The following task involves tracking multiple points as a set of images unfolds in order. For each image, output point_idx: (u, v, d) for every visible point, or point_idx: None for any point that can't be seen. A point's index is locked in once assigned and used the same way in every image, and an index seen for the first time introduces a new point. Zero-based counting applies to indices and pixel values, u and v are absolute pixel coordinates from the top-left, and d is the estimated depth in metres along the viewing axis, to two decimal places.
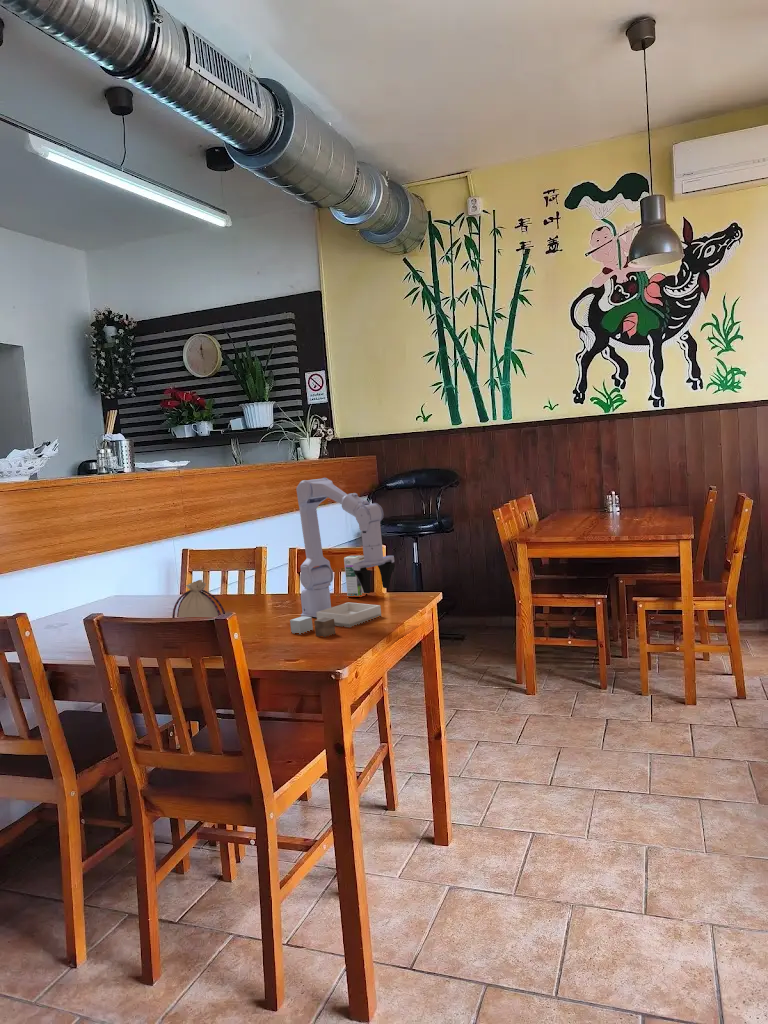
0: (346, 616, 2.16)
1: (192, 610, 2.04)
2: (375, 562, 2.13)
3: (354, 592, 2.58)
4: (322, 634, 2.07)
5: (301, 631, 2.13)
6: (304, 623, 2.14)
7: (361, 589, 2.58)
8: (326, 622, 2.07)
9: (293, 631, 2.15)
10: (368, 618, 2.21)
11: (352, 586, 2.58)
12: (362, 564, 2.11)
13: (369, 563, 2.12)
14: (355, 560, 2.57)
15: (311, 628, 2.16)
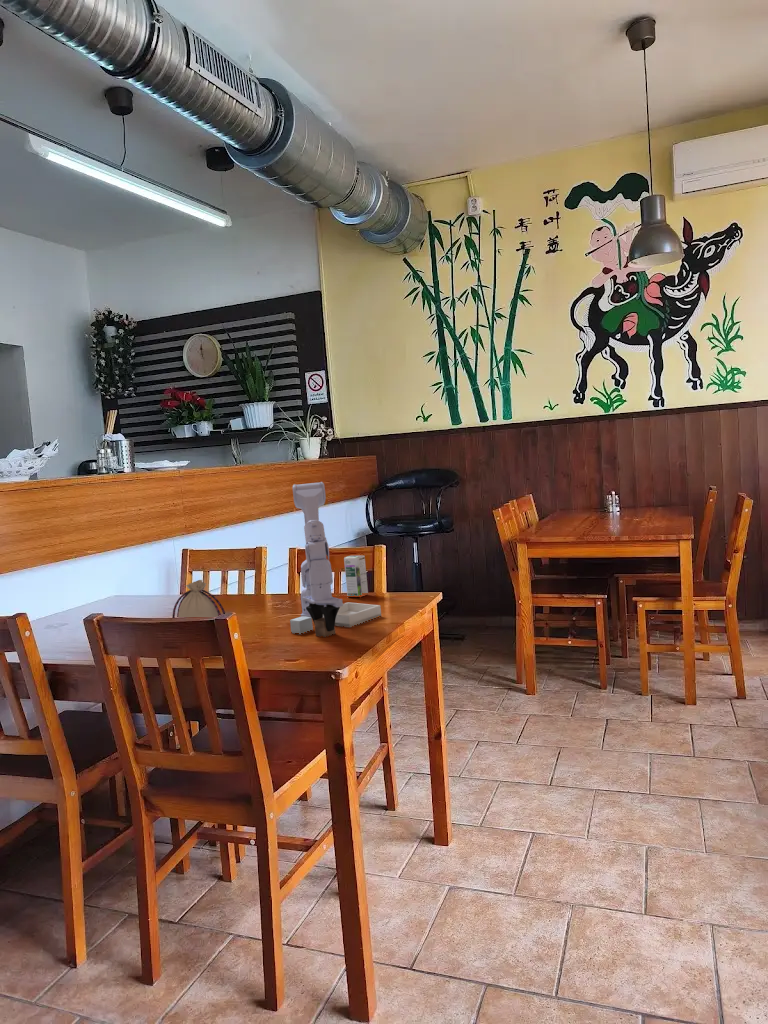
0: (346, 616, 2.16)
1: (192, 610, 2.04)
2: (311, 601, 2.08)
3: (354, 592, 2.58)
4: (322, 634, 2.07)
5: (301, 631, 2.13)
6: (304, 623, 2.14)
7: (361, 589, 2.58)
8: None
9: (293, 631, 2.15)
10: (368, 618, 2.21)
11: (352, 586, 2.58)
12: (305, 599, 2.11)
13: (308, 600, 2.09)
14: (355, 560, 2.57)
15: (311, 628, 2.16)
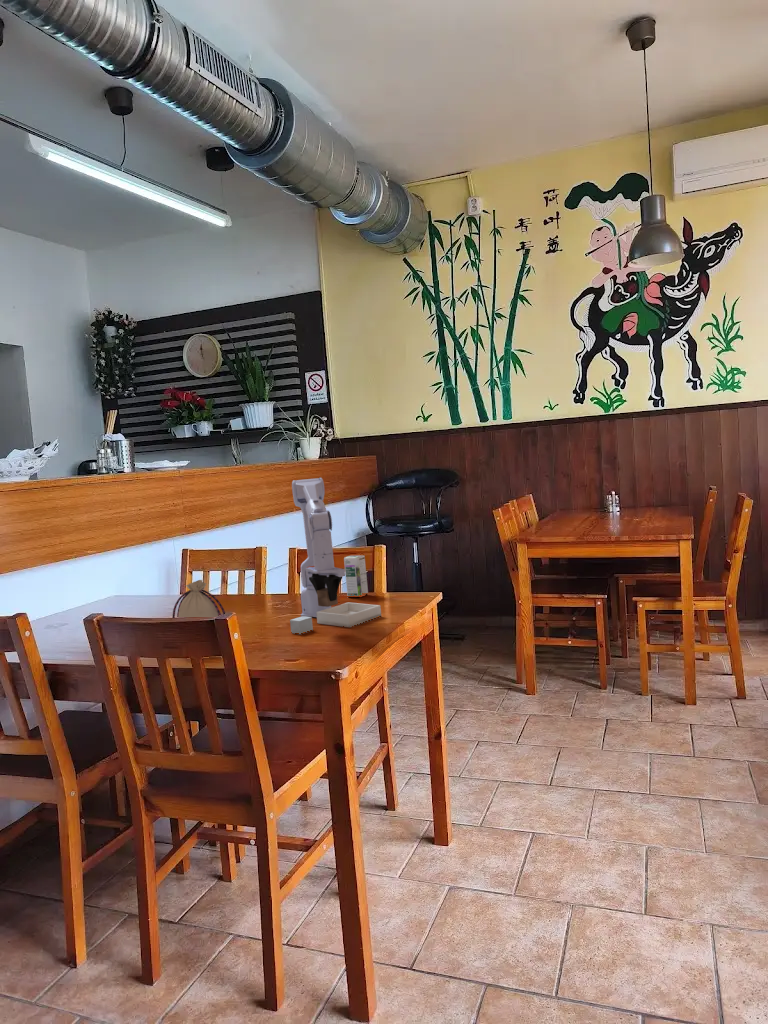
0: (346, 616, 2.16)
1: (192, 610, 2.04)
2: (314, 571, 2.10)
3: (354, 592, 2.58)
4: (325, 603, 2.10)
5: (301, 631, 2.13)
6: (304, 623, 2.14)
7: (361, 589, 2.58)
8: None
9: (293, 631, 2.15)
10: (368, 618, 2.21)
11: (352, 586, 2.58)
12: (308, 570, 2.14)
13: (311, 570, 2.12)
14: (355, 560, 2.57)
15: (311, 628, 2.16)
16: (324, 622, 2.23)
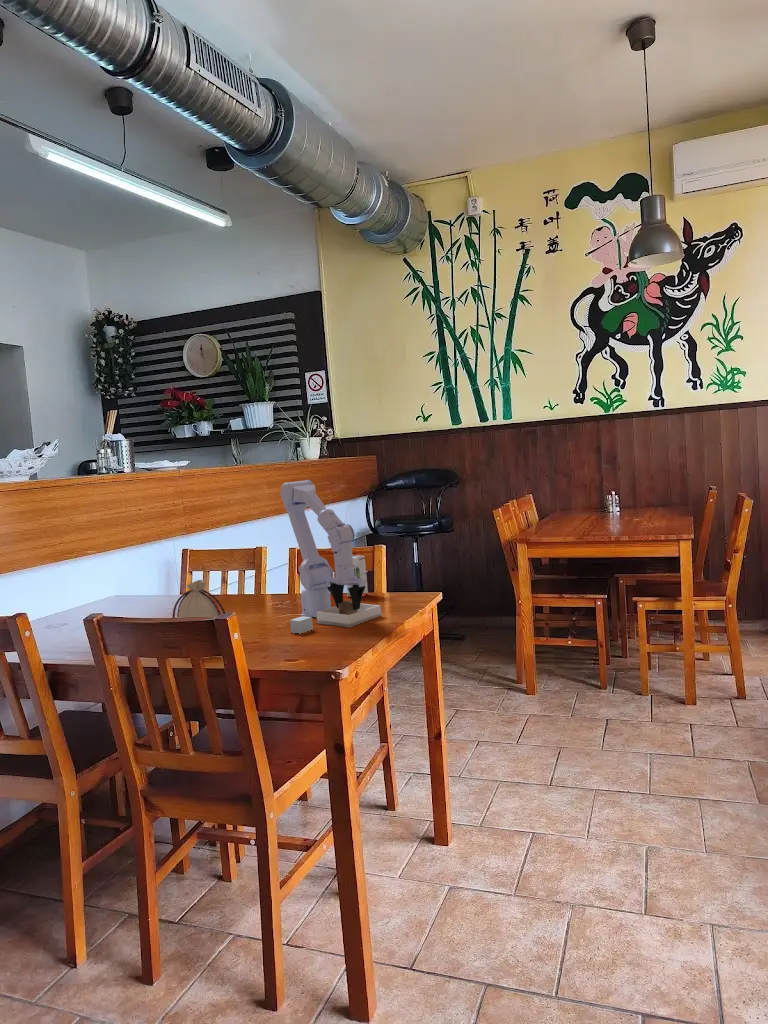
0: (346, 616, 2.16)
1: (192, 610, 2.04)
2: None
3: None
4: None
5: (301, 631, 2.13)
6: (304, 623, 2.14)
7: None
8: (349, 604, 2.23)
9: (293, 631, 2.15)
10: (368, 618, 2.21)
11: (352, 586, 2.58)
12: (330, 580, 2.27)
13: (333, 581, 2.25)
14: (355, 560, 2.57)
15: (311, 628, 2.16)
16: (324, 622, 2.23)
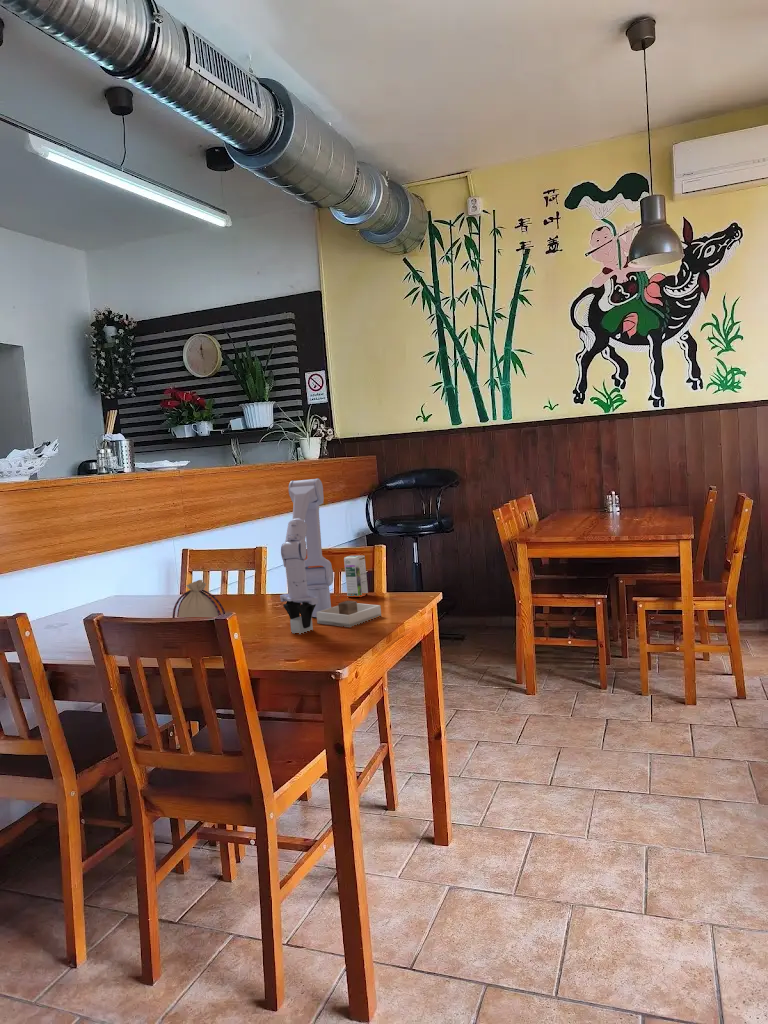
0: (346, 616, 2.16)
1: (192, 610, 2.04)
2: None
3: (354, 592, 2.58)
4: None
5: (301, 631, 2.13)
6: None
7: (361, 589, 2.58)
8: (349, 604, 2.23)
9: (293, 631, 2.15)
10: (368, 618, 2.21)
11: (352, 586, 2.58)
12: (283, 597, 2.18)
13: (285, 598, 2.16)
14: (355, 560, 2.57)
15: (311, 628, 2.16)
16: (324, 622, 2.23)
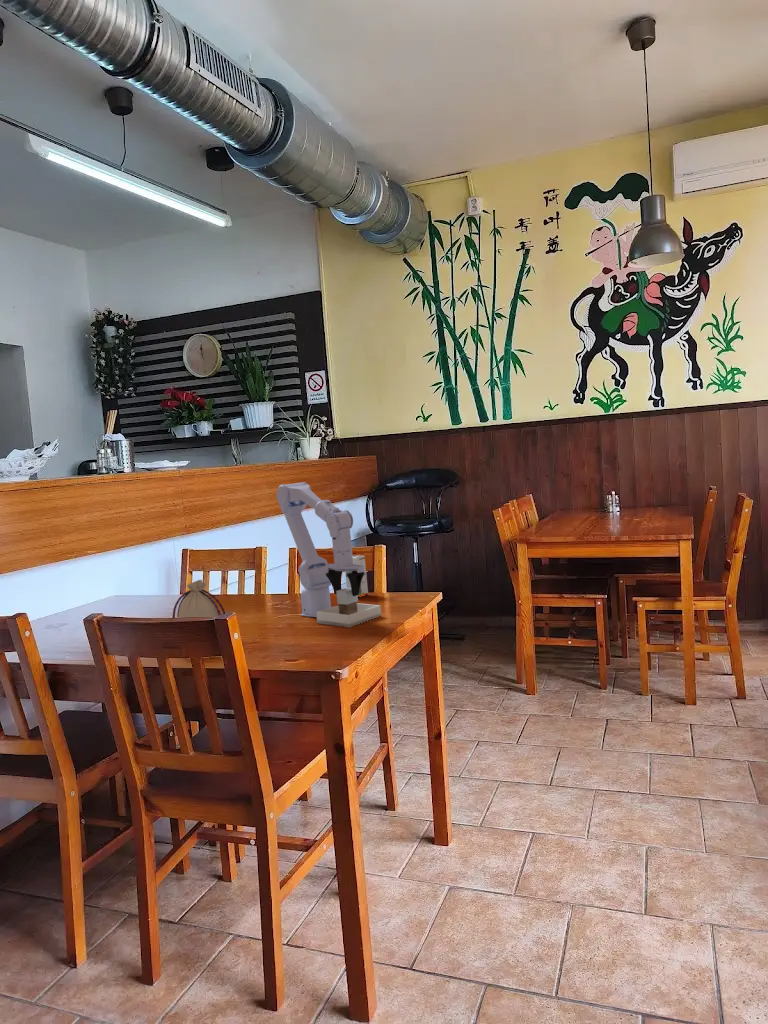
0: (346, 616, 2.16)
1: (192, 610, 2.04)
2: None
3: None
4: None
5: (347, 601, 2.22)
6: (350, 594, 2.23)
7: (361, 589, 2.58)
8: (349, 604, 2.23)
9: (339, 601, 2.23)
10: (368, 618, 2.21)
11: None
12: (328, 566, 2.27)
13: (331, 567, 2.25)
14: (355, 560, 2.57)
15: (356, 599, 2.25)
16: (324, 622, 2.23)
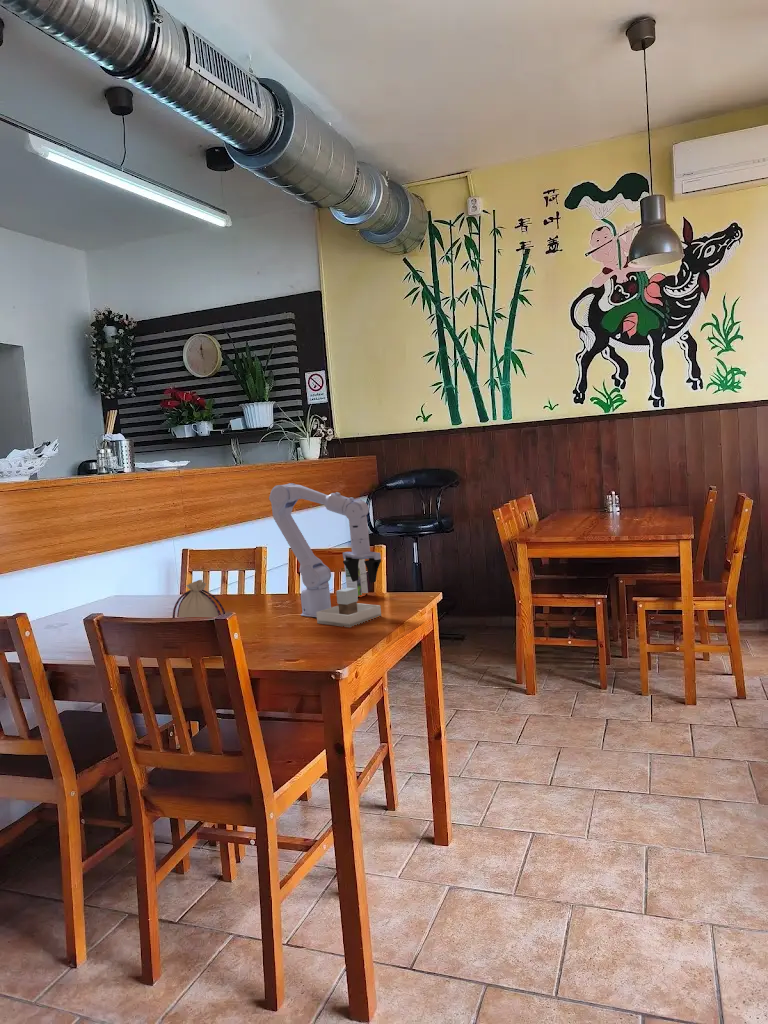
0: (346, 616, 2.16)
1: (192, 610, 2.04)
2: None
3: None
4: None
5: (347, 601, 2.22)
6: (350, 594, 2.23)
7: (361, 589, 2.58)
8: (349, 604, 2.23)
9: (339, 601, 2.23)
10: (368, 618, 2.21)
11: (352, 586, 2.58)
12: (346, 554, 2.32)
13: (348, 554, 2.30)
14: None
15: (356, 599, 2.25)
16: (324, 622, 2.23)
